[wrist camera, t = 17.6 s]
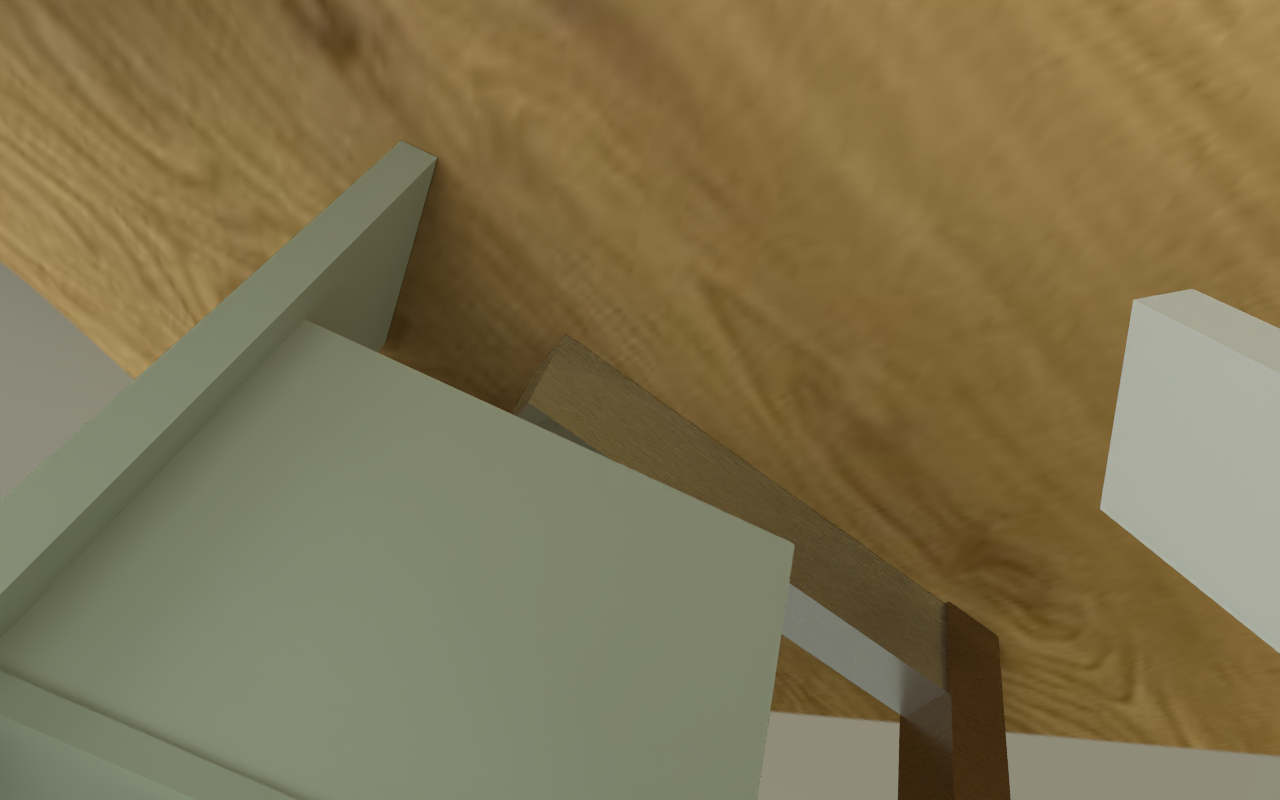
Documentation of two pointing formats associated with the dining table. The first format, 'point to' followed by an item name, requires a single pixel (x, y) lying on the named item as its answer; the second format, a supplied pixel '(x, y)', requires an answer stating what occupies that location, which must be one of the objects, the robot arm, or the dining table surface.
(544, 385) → the l-shaped try square
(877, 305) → the dining table surface
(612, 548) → the green cabinet
